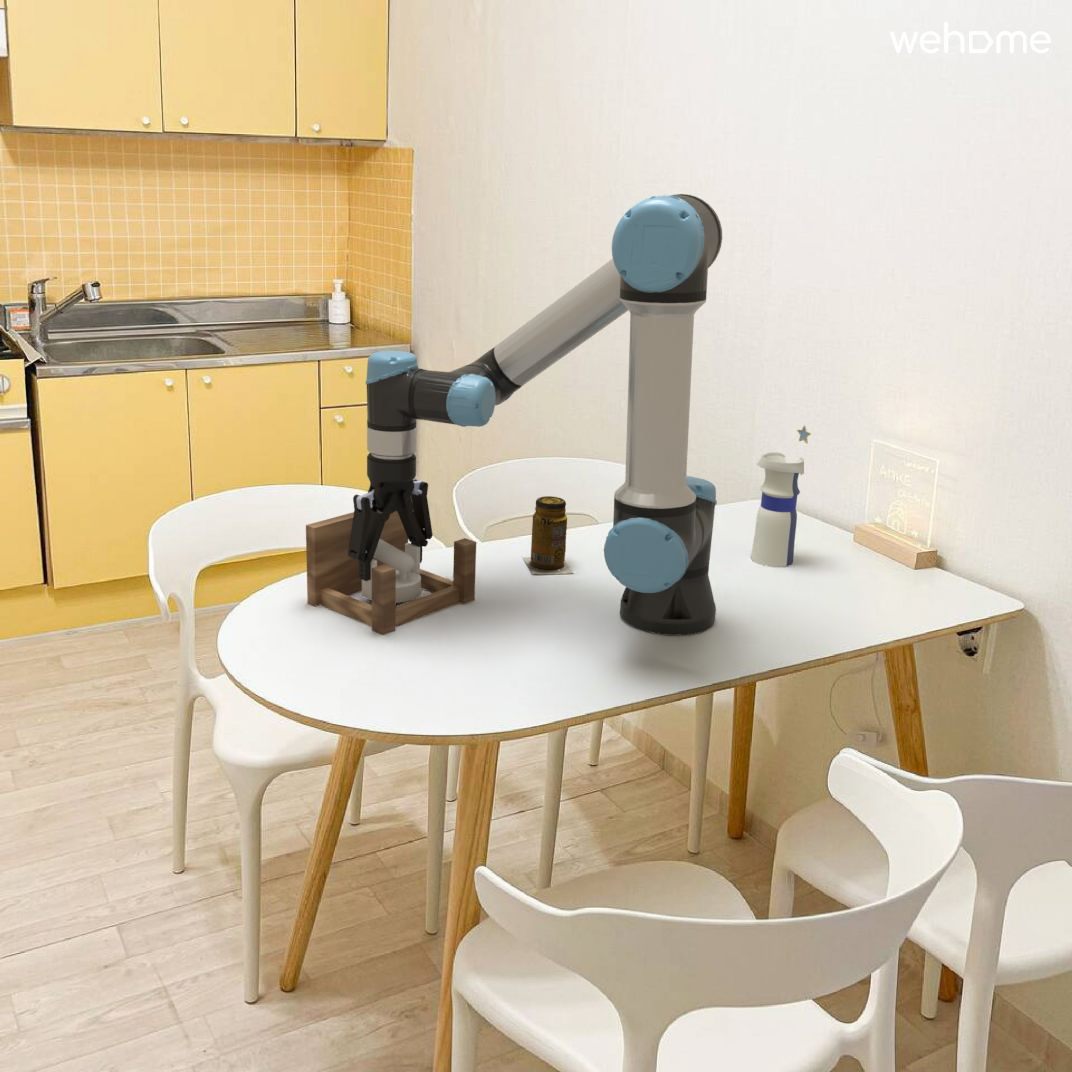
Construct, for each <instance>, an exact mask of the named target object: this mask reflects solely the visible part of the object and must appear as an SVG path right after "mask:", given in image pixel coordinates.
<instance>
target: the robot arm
mask: <svg viewBox="0 0 1072 1072" xmlns="http://www.w3.org/2000/svg"><path fill="white" fill-rule="evenodd" d="M722 228H723V227H722V224H721V221H720V218H719V216H718V214H717V212H716V211H715V210H714V209H713V208H712V206H711V205H710V203H708V202H706V201H704V199H702V198H699V197H697V196H696V195H692V194H684V193H680V194H679V193H677V194H671V195H666V194H664V195H657V196H655V195H653V196H650V197H646V198H645V199H644V200H643V199H642V200H641V201H639V202H637V203H636V204H635V205H633V206H632V207H630V208H629V209H628V210H627V211H626V212H625V213H624V214H623V216H622V217H621V218H620V219H619V221H618V223H617V224H616V226H615V229H614V232H613V235H612V240H611V257H612V258H611V259H610V260H609V261H607V262H605V263H604V264H603V265H602V266H601V267H599V268H598V269H596V270H595V271H594V272H593V273H591V274H590V275H589V276H587V277H586V278H584V279H583V280H582V281H581V282H579V283H578V284H577V285H575V286H574V287H572V288H571V289H570V290H568V291H567V292H566V293H565V294H563V295H562V296H561V297H559V298H558V299H556V300H555V301H554V302H553V303H551V304H549V306H547V307H546V308H545V309H543V310H542V311H541V312H539V313H538V314H536V315H535V316H533V318H531V319H530V320H528V321H527V322H526V323H525V324H523V325H522V326H521V327H519V328H518V329H517V330H515V331H514V332H512V333H511V334H510V335H509V336H507V337H505V338H504V339H503V340H501V342H499V343H498V344H496V345H495V346H494V347H493V348H491V349H490V350H488V351H486V352H485V353H484V354H483V355H482V356H480V357H479V358H477V359H475V360H474V361H473V362H471V363H469V364H466V365H464V366H461V367H459V368H456V369H453V370H451V371H439V370H428V369H423V368H419V363H418V358H417V356H416V354H414V353H412V352H408V351H403V350H382V351H381V350H380V351H376V352H373V353H371V354H370V355H369V357H368V358H367V366H366V367H367V368H366V381H365V385H366V412H367V418H366V419H367V420H366V422H367V423H366V450H367V451H368V452H369V453H368V455H366V475H367V476H366V477H367V478H368V480H369V482H370V484H369V487H368V490H367V493H364V494H362V495H359V494H355V495H353V498H352V500H353V501H352V502H353V509H354V510H353V512H354V516H353V523H352V529H351V536H350V542H349V549H348V556H349V557H351V558H354V559H357V560H359V578H360V579H362V591H361V597H363V598H364V599H368V600H370V601H372V568H374V567H377V560H374V559H373V557H374V554H375V551H376V548H377V545H378V542H379V539H380V536H381V533H382V530H383V527H384V524H385V522H386V521H387V520H388V519H389V517H390V514H392V513H394V512H395V511H397V512H398V514H399V517H400V519H401V522H402V524H403V527H404V529H405V532H406V534H407V537H408V543H406V544H405V553H406V554H408V555H410V556H411V557H412V558H413V560H414V563H415V565H414V567H413V569H412V571H414V572H416V573H418V574H419V575H420V569H421V564H422V561H423V547H424V548H425V547H427V546H428V543H429V541H428V540H431V539H432V538H433V537H434V536H433V528H432V521H431V515H430V514H431V513H430V508H429V500H428V489H429V483H428V482H425V481H423V480H420V479H416V476H417V455H415V454H414V453H416V452H417V420H421V421H428V422H429V421H430V422H435V423H440V424H441V423H442V424H449V425H457V426H460V427H465V428H466V427H484V426H485V425H487V424H488V423H489V421H490V418H492V416H493V414H494V411H495V407H496V406H498V405H501V404H502V403H504V402H505V401H508V400H509V399H510V397H512V395H514V393H516V392H517V391H518V390H519V389H521V388H522V387H523V386H525V385H526V384H527V383H529V382H530V381H532V380H534V378H536V377H538V376H539V375H540V374H541V373H543V372H544V371H546V370H547V369H548V368H549V367H551V366H552V365H554V364H555V363H557V362H559V360H561V359H562V358H564V357H565V356H567V355H568V354H569V353H571V352H572V351H575V349H576V348H578V347H580V346H581V345H582V344H584V343H585V342H586V341H587V340H589V339H590V338H592V337H593V336H594V335H596V334H597V333H599V332H600V331H601V330H604V328H606V327H608V326H609V325H611V324H612V323H613V322H614V321H616V320H617V319H619V318H620V317H621V316H623V315H624V314H626V313H628V312H629V314H630V321H629V323H630V324H629V329H630V330H629V349H628V351H629V352H628V353H629V355H628V381H627V383H628V384H627V388H628V389H627V411H626V412H627V413H626V414H627V415H626V417H627V418H626V447H625V448H626V449H625V451H626V452H625V477H624V483H623V484H622V485H621V486H619V487H618V488H617V489H616V490H615V491H614V494H613V495H614V496H613V498H614V499H613V520H612V522H613V524H612V525H613V526H612V528H611V529H610V530H609V531H608V533H607V536H606V539H605V541H604V546H603V556H604V561H605V564H606V566H607V569H608V571H609V572H610V573H611V575H612V576H613V577H614V578H615V579H616V580H617V581H618V582H619V583H620V584H621V585H622V586H623V587H625V589H624V591H623V593H622V596H621V598H620V602H619V603H620V604H619V616H620V618H621V619H622V620H623V621H624V622H625V623H627V625H629V626H631V627H634V628H635V629H639V630H640V631H644V632H648V633H652V634H658V635H666V636H687V635H688V636H689V635H696V634H700V633H703V632H706V631H708V630H709V629H711V628H712V627H713V626H714V625H715V622H716V614H717V606H716V603H715V598H714V594H713V589H712V585H711V581H710V577H709V570H710V569H709V568H710V559H711V550H712V540H713V531H714V521H715V510H716V509H715V508H716V505H717V502H718V501H717V498H716V497H717V489H716V486H715V485H714V483H713V482H711V481H709V480H708V479H704V478H700V477H695V476H690V475H687V472H688V471H687V469H688V468H687V467H688V448H689V447H688V446H689V429H690V428H689V427H690V426H689V425H690V407H691V405H690V404H691V385H692V384H691V383H692V362H693V361H692V360H693V343H694V323H695V321H694V320H695V314H696V312H697V311H698V310H699V309H700V308H701V307H703V305H704V304H706V302H707V293H708V292H707V291H708V290H707V289H708V288H707V287H708V273H709V271H708V270H709V268H710V267H711V266H712V265H713V264H714V262H715V261H716V260H717V257H718V255H719V254H720V251H721V247H722V243H723V229H722ZM377 510H378V511H380V512H383V513H382V514H380V513H378V512H377ZM366 551H367V553H365V552H366Z"/></svg>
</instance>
